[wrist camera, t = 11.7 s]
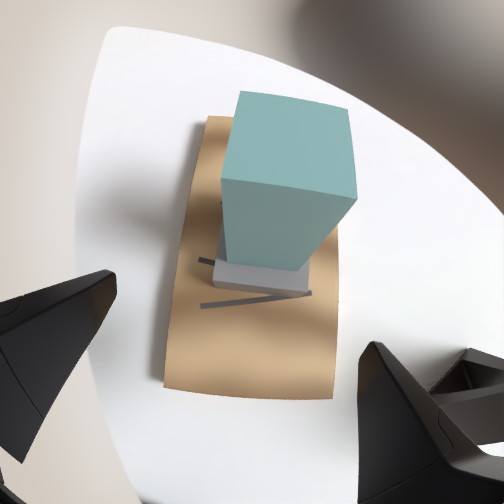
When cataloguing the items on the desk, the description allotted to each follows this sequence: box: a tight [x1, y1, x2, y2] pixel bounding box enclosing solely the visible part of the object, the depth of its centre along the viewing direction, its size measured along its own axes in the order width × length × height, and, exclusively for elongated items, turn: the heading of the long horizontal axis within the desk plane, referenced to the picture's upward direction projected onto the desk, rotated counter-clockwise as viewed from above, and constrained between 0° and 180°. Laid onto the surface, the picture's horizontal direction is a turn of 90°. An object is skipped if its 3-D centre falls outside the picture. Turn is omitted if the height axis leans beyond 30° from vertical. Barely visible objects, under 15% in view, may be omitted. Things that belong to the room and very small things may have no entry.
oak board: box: [163, 116, 339, 400], centre depth 22 cm, size 24×12×2 cm, turn 176°
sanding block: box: [213, 91, 358, 298], centre depth 15 cm, size 7×6×12 cm
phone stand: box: [428, 348, 504, 445], centre depth 13 cm, size 9×6×12 cm, turn 118°
